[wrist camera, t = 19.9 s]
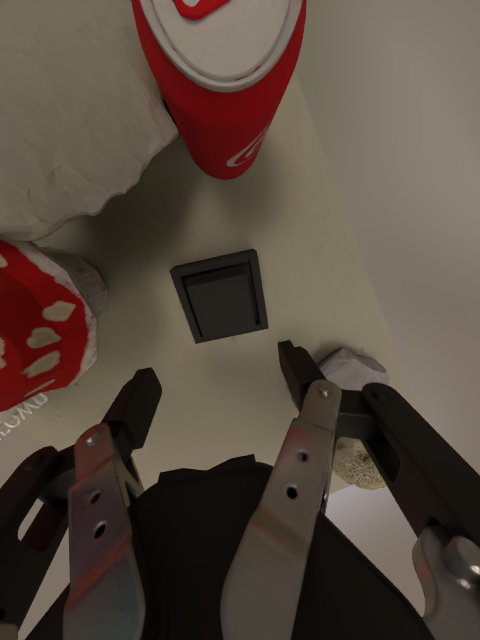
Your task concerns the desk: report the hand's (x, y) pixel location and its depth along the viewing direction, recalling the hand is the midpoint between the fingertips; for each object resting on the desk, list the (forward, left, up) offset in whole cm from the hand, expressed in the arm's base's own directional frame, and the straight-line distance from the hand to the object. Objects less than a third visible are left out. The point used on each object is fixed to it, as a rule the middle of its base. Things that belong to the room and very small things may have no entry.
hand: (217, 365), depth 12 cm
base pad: (0, +1, -12) cm, 12 cm away
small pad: (+1, +1, -11) cm, 11 cm away
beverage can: (+4, +14, -12) cm, 19 cm away
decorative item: (+18, -33, -12) cm, 39 cm away
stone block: (+13, -16, -12) cm, 24 cm away
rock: (0, +22, -12) cm, 25 cm away
